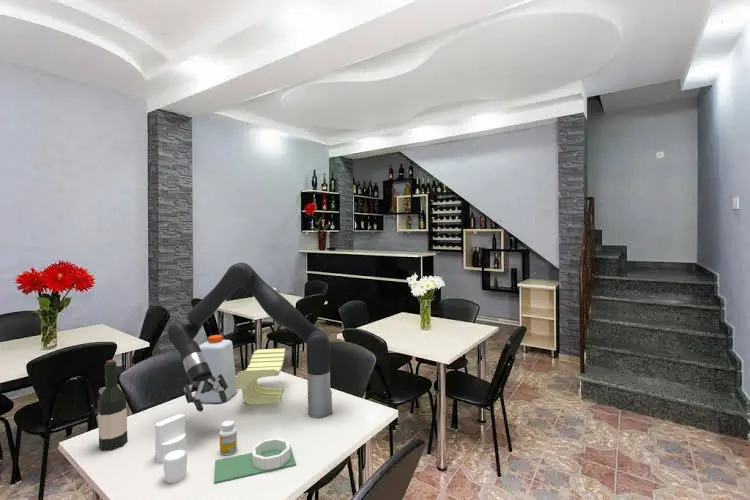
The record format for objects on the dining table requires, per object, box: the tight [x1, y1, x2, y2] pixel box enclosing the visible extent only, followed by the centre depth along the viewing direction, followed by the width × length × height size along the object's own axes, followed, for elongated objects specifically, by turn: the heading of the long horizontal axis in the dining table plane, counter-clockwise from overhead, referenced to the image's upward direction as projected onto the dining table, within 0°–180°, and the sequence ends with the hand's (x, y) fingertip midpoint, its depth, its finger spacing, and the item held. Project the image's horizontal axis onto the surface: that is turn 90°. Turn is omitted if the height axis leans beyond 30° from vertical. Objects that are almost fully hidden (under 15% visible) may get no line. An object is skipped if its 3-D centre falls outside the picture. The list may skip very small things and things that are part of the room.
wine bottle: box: [97, 359, 129, 452], centre depth 134 cm, size 8×8×30 cm
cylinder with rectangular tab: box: [154, 413, 187, 464], centre depth 128 cm, size 9×9×12 cm
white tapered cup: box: [162, 449, 188, 484], centre depth 116 cm, size 7×7×7 cm
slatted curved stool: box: [236, 348, 286, 405], centre depth 173 cm, size 30×16×18 cm, turn 5°
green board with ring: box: [213, 437, 297, 485], centre depth 122 cm, size 24×12×4 cm, turn 111°
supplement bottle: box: [219, 419, 238, 456], centre depth 130 cm, size 5×5×10 cm
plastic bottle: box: [199, 334, 238, 404], centre depth 174 cm, size 15×15×28 cm
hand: (213, 406), depth 135 cm, fingers open, 8 cm apart
